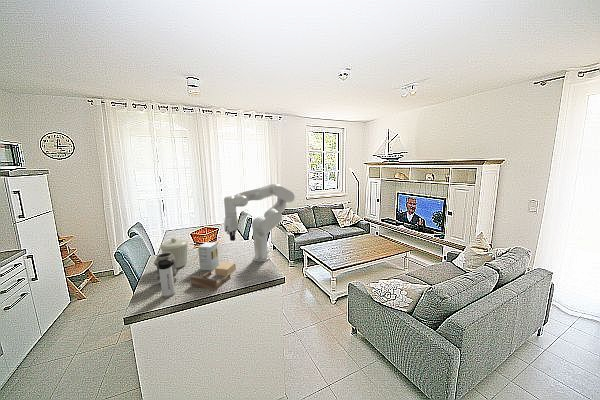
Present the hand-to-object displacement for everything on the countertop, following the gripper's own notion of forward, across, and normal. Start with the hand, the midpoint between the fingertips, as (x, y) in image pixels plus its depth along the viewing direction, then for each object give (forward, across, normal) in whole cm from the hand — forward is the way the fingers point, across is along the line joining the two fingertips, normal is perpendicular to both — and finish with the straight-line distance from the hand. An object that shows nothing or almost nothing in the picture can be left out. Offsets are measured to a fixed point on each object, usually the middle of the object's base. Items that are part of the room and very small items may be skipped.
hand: (232, 240), depth 167 cm
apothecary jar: (+19, +32, -27) cm, 46 cm away
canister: (+19, +12, -41) cm, 47 cm away
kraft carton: (+19, +10, 0) cm, 22 cm away
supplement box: (+19, +7, -16) cm, 26 cm away
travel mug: (+19, +43, -14) cm, 49 cm away
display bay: (+19, +23, 0) cm, 30 cm away
